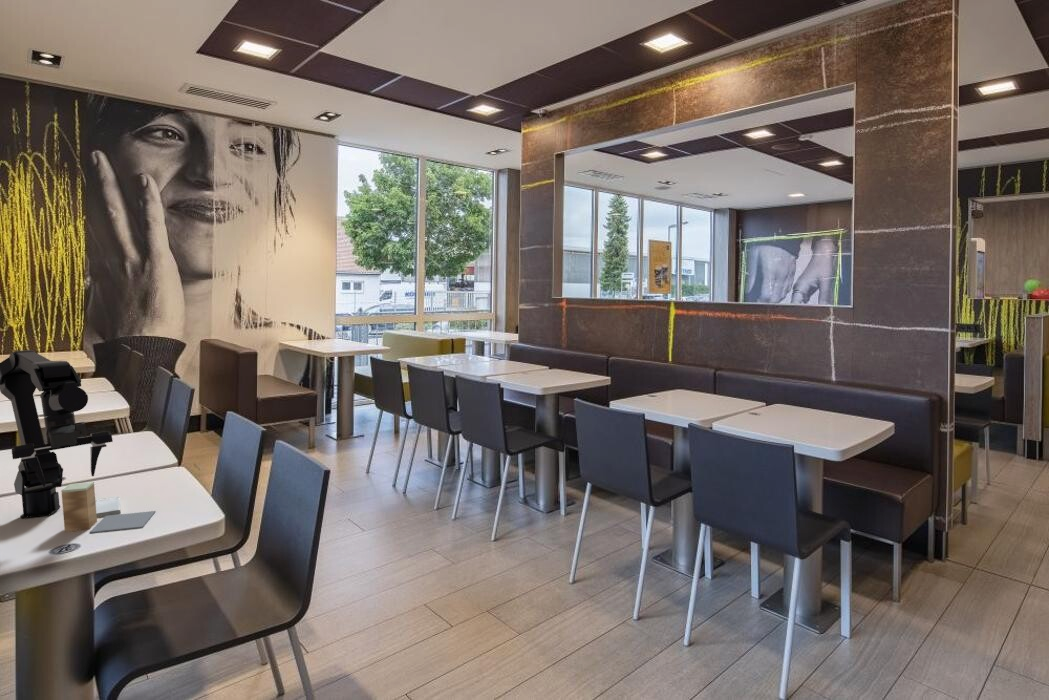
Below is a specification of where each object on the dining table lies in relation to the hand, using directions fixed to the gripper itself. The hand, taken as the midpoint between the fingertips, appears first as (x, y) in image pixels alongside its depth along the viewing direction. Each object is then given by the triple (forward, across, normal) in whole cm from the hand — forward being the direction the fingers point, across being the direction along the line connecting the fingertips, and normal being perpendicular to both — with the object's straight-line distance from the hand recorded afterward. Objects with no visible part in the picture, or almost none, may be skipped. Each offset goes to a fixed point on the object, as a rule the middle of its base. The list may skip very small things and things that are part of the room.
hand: (69, 481), depth 146 cm
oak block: (+12, +1, +4) cm, 12 cm away
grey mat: (+13, +9, +1) cm, 16 cm away
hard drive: (+11, +6, +15) cm, 19 cm away
